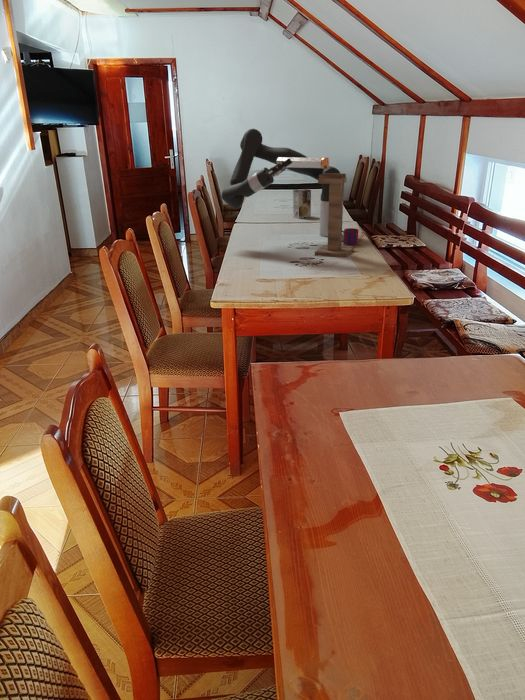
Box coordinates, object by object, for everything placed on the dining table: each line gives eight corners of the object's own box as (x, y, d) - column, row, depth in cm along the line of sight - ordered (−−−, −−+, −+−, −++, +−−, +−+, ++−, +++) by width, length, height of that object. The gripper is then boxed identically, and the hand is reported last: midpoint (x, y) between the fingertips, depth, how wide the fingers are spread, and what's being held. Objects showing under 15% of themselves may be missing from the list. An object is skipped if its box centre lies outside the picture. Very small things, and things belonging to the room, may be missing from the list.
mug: (357, 245, 252) (358, 231, 249) (336, 245, 253) (336, 230, 251) (357, 242, 258) (358, 228, 255) (336, 242, 259) (337, 228, 257)
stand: (323, 248, 247) (325, 172, 234) (353, 250, 242) (357, 172, 229) (314, 255, 235) (316, 175, 222) (345, 257, 230) (349, 176, 217)
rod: (280, 164, 236) (278, 154, 233) (329, 165, 228) (328, 155, 225) (276, 169, 233) (275, 160, 230) (326, 170, 226) (325, 160, 222)
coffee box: (304, 215, 332) (305, 188, 325) (311, 217, 327) (311, 189, 320) (292, 217, 327) (292, 189, 321) (298, 218, 322) (299, 190, 316)
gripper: (250, 173, 232) (282, 153, 224) (262, 170, 244) (293, 151, 236) (258, 189, 233) (291, 169, 225) (270, 185, 245) (301, 166, 237)
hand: (292, 160), depth 230 cm, fingers closed on rod, 4 cm apart
